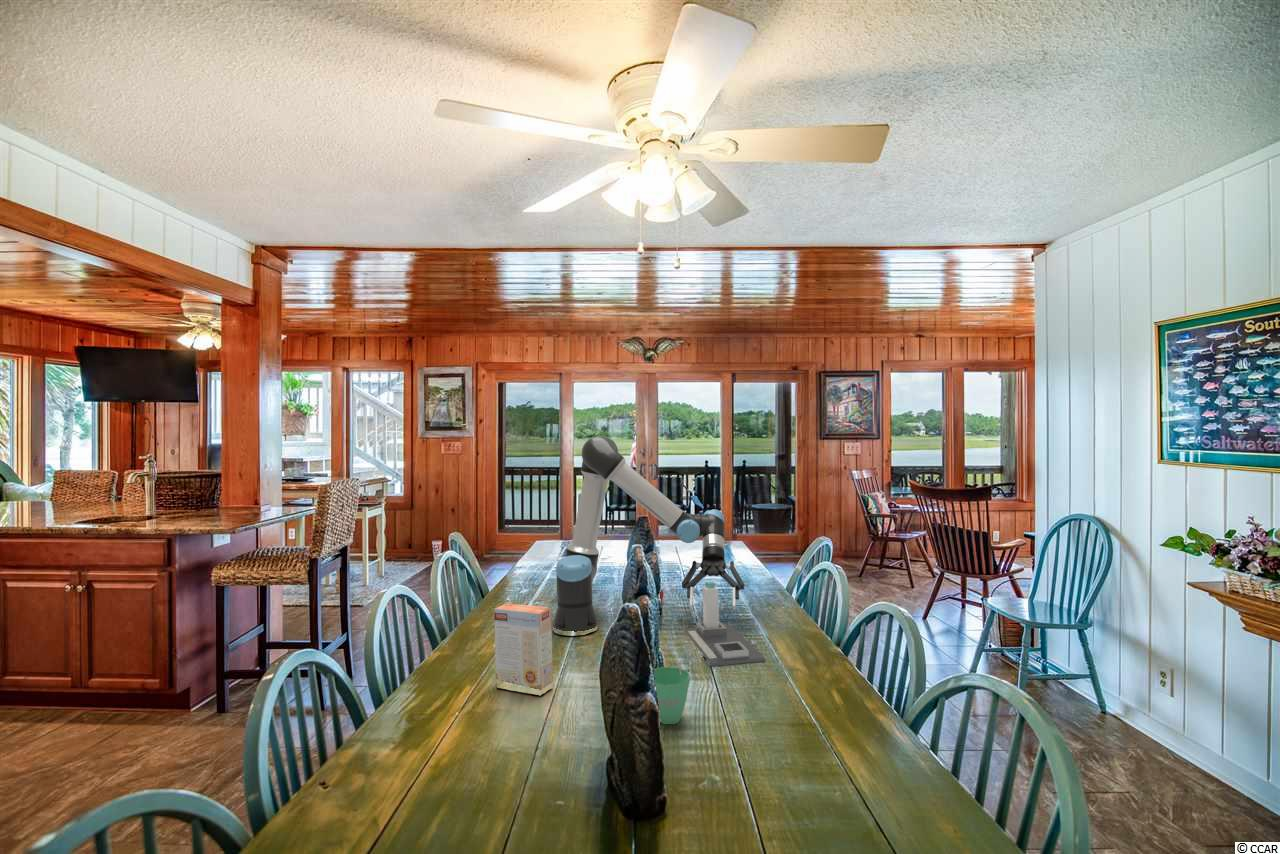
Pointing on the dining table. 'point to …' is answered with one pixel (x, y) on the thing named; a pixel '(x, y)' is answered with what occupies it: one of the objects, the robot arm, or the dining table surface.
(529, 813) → the dining table surface
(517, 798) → the dining table surface
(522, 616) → the cracker box
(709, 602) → the plug
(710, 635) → the panel
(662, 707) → the green cup
